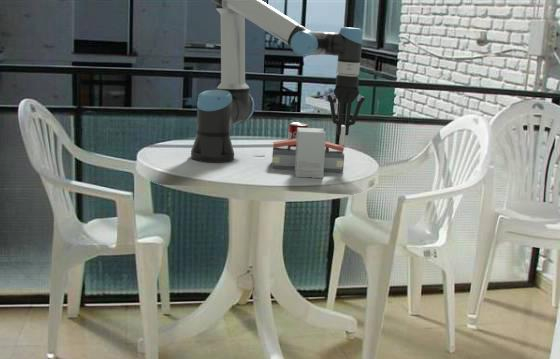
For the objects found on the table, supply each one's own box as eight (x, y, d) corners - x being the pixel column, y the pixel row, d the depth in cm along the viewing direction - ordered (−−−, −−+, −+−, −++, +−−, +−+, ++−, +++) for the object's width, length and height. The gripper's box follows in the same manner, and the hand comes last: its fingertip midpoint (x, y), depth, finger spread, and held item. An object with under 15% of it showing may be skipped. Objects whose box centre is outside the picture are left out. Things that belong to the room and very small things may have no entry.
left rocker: (273, 147, 232) (273, 144, 232) (273, 145, 236) (273, 142, 236) (305, 142, 232) (305, 139, 231) (305, 140, 236) (304, 137, 236)
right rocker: (311, 143, 232) (312, 139, 231) (311, 141, 236) (312, 137, 236) (343, 151, 232) (344, 148, 232) (341, 149, 237) (342, 146, 236)
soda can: (304, 158, 250) (307, 126, 247) (285, 156, 252) (287, 124, 249) (308, 155, 257) (310, 123, 254) (289, 153, 258) (291, 121, 256)
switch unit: (271, 168, 231) (273, 147, 229) (272, 162, 241) (273, 141, 239) (343, 172, 231) (344, 151, 229) (340, 166, 241) (342, 145, 239)
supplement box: (321, 172, 229) (324, 128, 226) (323, 178, 221) (326, 132, 217) (293, 171, 229) (296, 126, 226) (295, 177, 220) (298, 131, 217)
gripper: (329, 74, 225) (323, 145, 230) (368, 77, 225) (361, 147, 231) (327, 72, 232) (321, 141, 238) (365, 75, 232) (359, 143, 238)
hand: (341, 144), depth 234 cm, fingers closed
